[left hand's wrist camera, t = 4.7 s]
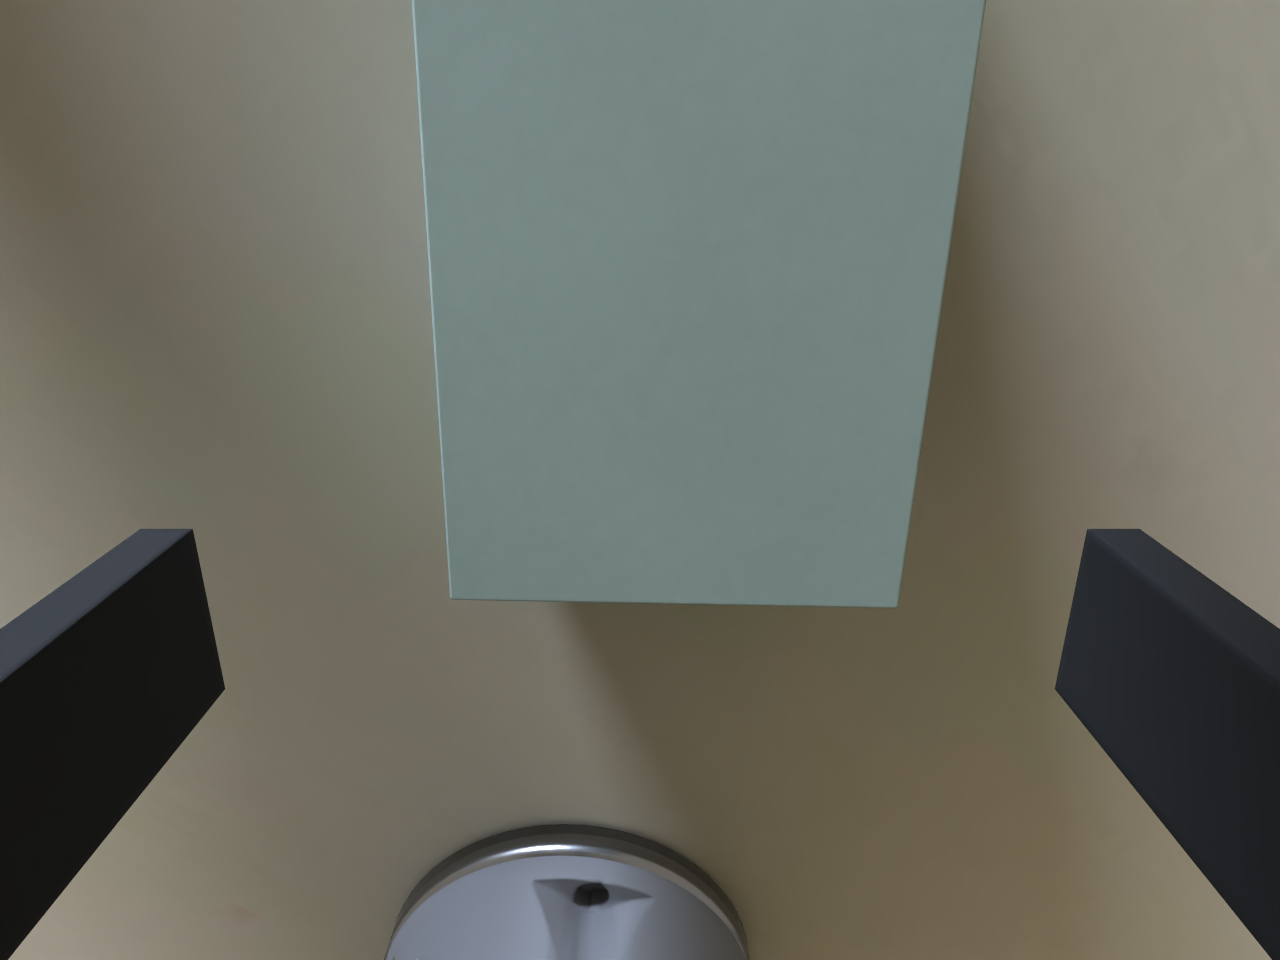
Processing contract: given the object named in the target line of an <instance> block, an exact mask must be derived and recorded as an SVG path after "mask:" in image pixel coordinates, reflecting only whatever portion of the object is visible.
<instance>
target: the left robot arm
mask: <svg viewBox="0 0 1280 960" xmlns="http://www.w3.org/2000/svg"><path fill="white" fill-rule="evenodd" d="M224 690H225V686H224V681H223V676H222V671H221V666H220V661H219V656H218V651H217V646H216V641H215V637H214V632H213V627H212V622H211V617H210V612H209V607H208V602H207V597H206V592H205V587H204V582H203V577H202V572H201V568H200V563H199V558H198V553H197V548H196V543H195V538H194V533H193V529H140V530H138V531H137V532H136V533H134V534H133V535H131V536H130V537H129V538H127V539H126V540H124V541H123V542H122V543H120V544H119V545H117V546H116V547H115V548H113V549H112V550H110V551H109V552H108V553H106V554H105V555H103V556H102V557H101V558H99V559H98V560H96V561H95V562H94V563H92V564H91V565H89V566H88V567H87V568H85V569H84V570H82V571H81V572H80V573H78V574H77V575H75V576H74V577H73V578H71V579H70V580H68V581H67V582H66V583H64V584H63V585H61V586H60V587H59V588H57V589H56V590H54V591H53V592H52V593H50V594H49V595H47V596H46V597H45V598H43V599H42V600H40V601H39V602H38V603H36V604H35V605H33V606H32V607H31V608H29V609H28V610H26V611H25V612H24V613H22V614H21V615H19V616H18V617H17V618H15V619H14V620H12V621H11V622H10V623H8V624H7V625H5V626H4V627H3V628H1V629H0V960H8V959H9V958H10V956H11V955H12V954H13V953H14V951H15V950H16V949H17V948H18V946H19V945H20V944H21V943H22V941H23V940H24V939H25V938H26V936H27V935H28V934H29V933H30V931H31V930H32V929H33V928H34V926H35V925H36V924H37V923H38V921H39V920H40V919H41V918H42V916H43V915H44V914H45V913H46V911H47V910H48V909H49V908H50V906H51V905H52V904H53V903H54V901H55V900H56V899H57V898H58V896H59V895H60V894H61V893H62V892H63V890H64V889H65V888H66V887H67V885H68V884H69V883H70V882H71V880H72V879H73V878H74V877H75V875H76V874H77V873H78V872H79V870H80V869H81V868H82V867H83V865H84V864H85V863H86V862H87V860H88V859H89V858H90V857H91V855H92V854H93V853H94V852H95V850H96V849H97V848H98V847H99V845H100V844H101V843H102V842H103V840H104V839H105V838H106V837H107V835H108V834H109V833H110V832H111V830H112V829H113V828H114V827H115V825H116V824H117V823H118V822H119V821H120V819H121V818H122V817H123V816H124V814H125V813H126V812H127V811H128V809H129V808H130V807H131V806H132V804H133V803H134V802H135V801H136V799H137V798H138V797H139V796H140V794H141V793H142V792H143V791H144V789H145V788H146V787H147V786H148V784H149V783H150V782H151V781H152V779H153V778H154V777H155V776H156V774H157V773H158V772H159V771H160V769H161V768H162V767H163V766H164V764H165V763H166V762H167V761H168V759H169V758H170V757H171V756H172V754H173V753H174V752H175V751H176V749H177V748H178V747H179V746H180V745H181V743H182V742H183V741H184V740H185V738H186V737H187V736H188V735H189V733H190V732H191V731H192V730H193V728H194V727H195V726H196V725H197V723H198V722H199V721H200V720H201V718H202V717H203V716H204V715H205V713H206V712H207V711H208V710H209V708H210V707H211V706H212V705H213V703H214V702H215V701H216V700H217V698H218V697H219V696H220V695H221V693H222V692H223V691H224ZM1055 690H1056V691H1057V692H1058V693H1059V695H1060V696H1061V697H1062V698H1063V700H1064V701H1065V702H1066V703H1067V705H1068V706H1069V707H1070V708H1071V710H1072V711H1073V712H1074V713H1075V715H1076V716H1077V717H1078V718H1079V720H1080V721H1081V722H1082V723H1083V725H1084V726H1085V727H1086V728H1087V730H1088V731H1089V732H1090V733H1091V735H1092V736H1093V737H1094V738H1095V740H1096V741H1097V742H1098V743H1099V745H1100V746H1101V747H1102V748H1103V749H1104V751H1105V752H1106V753H1107V754H1108V756H1109V757H1110V758H1111V759H1112V761H1113V762H1114V763H1115V764H1116V766H1117V767H1118V768H1119V769H1120V771H1121V772H1122V773H1123V774H1124V776H1125V777H1126V778H1127V779H1128V781H1129V782H1130V783H1131V784H1132V786H1133V787H1134V788H1135V789H1136V791H1137V792H1138V793H1139V794H1140V796H1141V797H1142V798H1143V799H1144V801H1145V802H1146V803H1147V804H1148V806H1149V807H1150V808H1151V809H1152V811H1153V812H1154V813H1155V814H1156V816H1157V817H1158V818H1159V819H1160V821H1161V822H1162V823H1163V824H1164V825H1165V827H1166V828H1167V829H1168V830H1169V832H1170V833H1171V834H1172V835H1173V837H1174V838H1175V839H1176V840H1177V842H1178V843H1179V844H1180V845H1181V847H1182V848H1183V849H1184V850H1185V852H1186V853H1187V854H1188V855H1189V857H1190V858H1191V859H1192V860H1193V862H1194V863H1195V864H1196V865H1197V867H1198V868H1199V869H1200V870H1201V872H1202V873H1203V874H1204V875H1205V877H1206V878H1207V879H1208V880H1209V882H1210V883H1211V884H1212V885H1213V887H1214V888H1215V889H1216V890H1217V892H1218V893H1219V894H1220V895H1221V897H1222V898H1223V899H1224V900H1225V901H1226V903H1227V904H1228V905H1229V906H1230V908H1231V909H1232V910H1233V911H1234V913H1235V914H1236V915H1237V916H1238V918H1239V919H1240V920H1241V921H1242V923H1243V924H1244V925H1245V926H1246V928H1247V929H1248V930H1249V931H1250V933H1251V934H1252V935H1253V936H1254V938H1255V939H1256V940H1257V941H1258V943H1259V944H1260V945H1261V946H1262V948H1263V949H1264V950H1265V951H1266V953H1267V954H1268V955H1269V956H1270V958H1271V959H1272V960H1280V629H1279V628H1277V627H1276V626H1275V625H1273V624H1272V623H1270V622H1269V621H1268V620H1266V619H1265V618H1263V617H1262V616H1261V615H1259V614H1258V613H1256V612H1255V611H1254V610H1252V609H1251V608H1249V607H1248V606H1247V605H1245V604H1244V603H1242V602H1241V601H1240V600H1238V599H1237V598H1235V597H1234V596H1233V595H1231V594H1230V593H1228V592H1227V591H1226V590H1224V589H1223V588H1221V587H1220V586H1219V585H1217V584H1216V583H1214V582H1213V581H1212V580H1210V579H1209V578H1207V577H1206V576H1205V575H1203V574H1202V573H1200V572H1199V571H1198V570H1196V569H1195V568H1193V567H1192V566H1191V565H1189V564H1188V563H1186V562H1185V561H1184V560H1182V559H1181V558H1179V557H1178V556H1177V555H1175V554H1174V553H1172V552H1171V551H1170V550H1168V549H1167V548H1165V547H1164V546H1163V545H1161V544H1160V543H1158V542H1157V541H1156V540H1154V539H1153V538H1151V537H1150V536H1149V535H1147V534H1146V533H1144V532H1143V531H1142V530H1140V529H1087V533H1086V538H1085V543H1084V548H1083V553H1082V558H1081V563H1080V568H1079V572H1078V577H1077V582H1076V587H1075V592H1074V597H1073V602H1072V607H1071V612H1070V617H1069V622H1068V627H1067V632H1066V637H1065V641H1064V646H1063V651H1062V656H1061V661H1060V666H1059V671H1058V676H1057V681H1056V686H1055ZM384 960H750V959H749V952H748V946H747V939H746V935H745V932H744V929H743V925H742V923H741V921H740V918H739V916H738V914H737V912H736V910H735V909H734V907H733V905H732V904H731V902H730V900H729V899H728V897H727V896H726V895H725V894H724V892H723V891H722V890H721V888H720V887H719V886H718V885H717V884H716V883H715V882H714V881H713V880H712V879H711V878H710V877H709V876H708V875H707V874H706V873H704V872H703V871H702V870H701V869H700V868H699V867H697V866H696V865H694V864H693V863H692V862H690V861H689V860H687V859H686V858H684V857H683V856H681V855H679V854H678V853H676V852H674V851H672V850H670V849H669V848H666V847H664V846H662V845H660V844H658V843H656V842H653V841H651V840H648V839H645V838H642V837H640V836H637V835H633V834H630V833H626V832H622V831H618V830H613V829H608V828H602V827H595V826H586V825H562V824H561V825H543V826H535V827H528V828H522V829H517V830H512V831H508V832H504V833H501V834H498V835H494V836H491V837H488V838H486V839H483V840H481V841H478V842H476V843H473V844H471V845H469V846H467V847H465V848H463V849H461V850H459V851H458V852H456V853H454V854H453V855H451V856H450V857H448V858H447V859H445V860H444V861H442V862H441V863H440V864H439V865H437V866H436V867H435V868H434V869H432V870H431V871H430V872H429V873H428V874H427V875H426V876H425V877H424V878H423V879H422V880H421V881H420V882H419V883H418V885H417V886H416V887H415V888H414V890H413V891H412V892H411V894H410V895H409V897H408V898H407V900H406V902H405V903H404V905H403V907H402V909H401V911H400V914H399V916H398V918H397V921H396V925H395V928H394V931H393V934H392V937H391V940H390V943H389V946H388V949H387V952H386V956H385V959H384Z"/></svg>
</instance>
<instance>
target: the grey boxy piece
mask: <svg viewBox="0 0 1280 960" xmlns="http://www.w3.org/2000/svg"><path fill="white" fill-rule="evenodd" d="M985 4H986V0H412V9H413V24H414V40H415V56H416V71H417V87H418V103H419V118H420V134H421V149H422V165H423V181H424V196H425V212H426V228H427V243H428V259H429V275H430V290H431V306H432V321H433V337H434V353H435V368H436V384H437V400H438V415H439V431H440V447H441V462H442V478H443V493H444V509H445V525H446V540H447V556H448V572H449V587H450V598H451V599H452V600H498V601H550V602H602V603H654V604H706V605H758V606H810V607H862V608H897V607H898V603H899V596H900V589H901V582H902V575H903V568H904V561H905V554H906V548H907V541H908V534H909V527H910V520H911V513H912V506H913V499H914V493H915V486H916V479H917V472H918V465H919V458H920V451H921V444H922V437H923V431H924V424H925V417H926V410H927V403H928V396H929V389H930V382H931V376H932V369H933V362H934V355H935V348H936V341H937V334H938V327H939V321H940V314H941V307H942V300H943V293H944V286H945V279H946V272H947V265H948V259H949V252H950V245H951V238H952V231H953V224H954V217H955V210H956V204H957V197H958V190H959V183H960V176H961V169H962V162H963V155H964V148H965V142H966V135H967V128H968V121H969V114H970V107H971V100H972V93H973V87H974V80H975V73H976V66H977V59H978V52H979V45H980V38H981V32H982V25H983V18H984V11H985Z"/></svg>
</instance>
